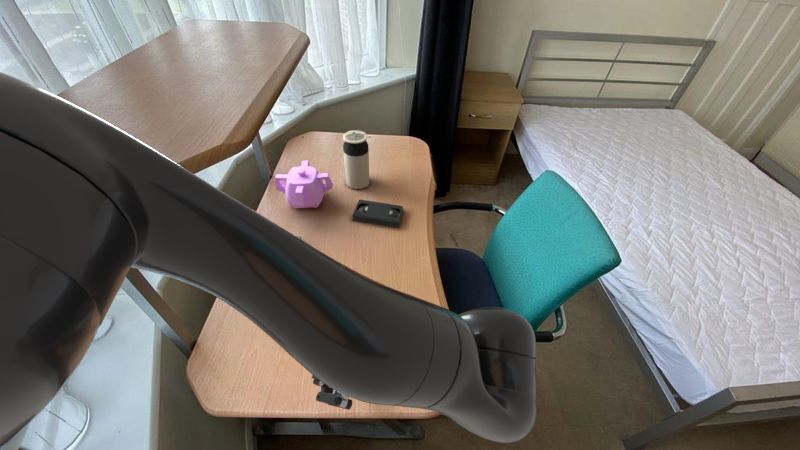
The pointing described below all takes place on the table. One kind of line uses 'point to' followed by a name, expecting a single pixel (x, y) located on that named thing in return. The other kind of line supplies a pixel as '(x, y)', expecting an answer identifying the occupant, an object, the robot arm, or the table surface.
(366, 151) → the travel mug
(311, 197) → the pot
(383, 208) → the vhs tape
